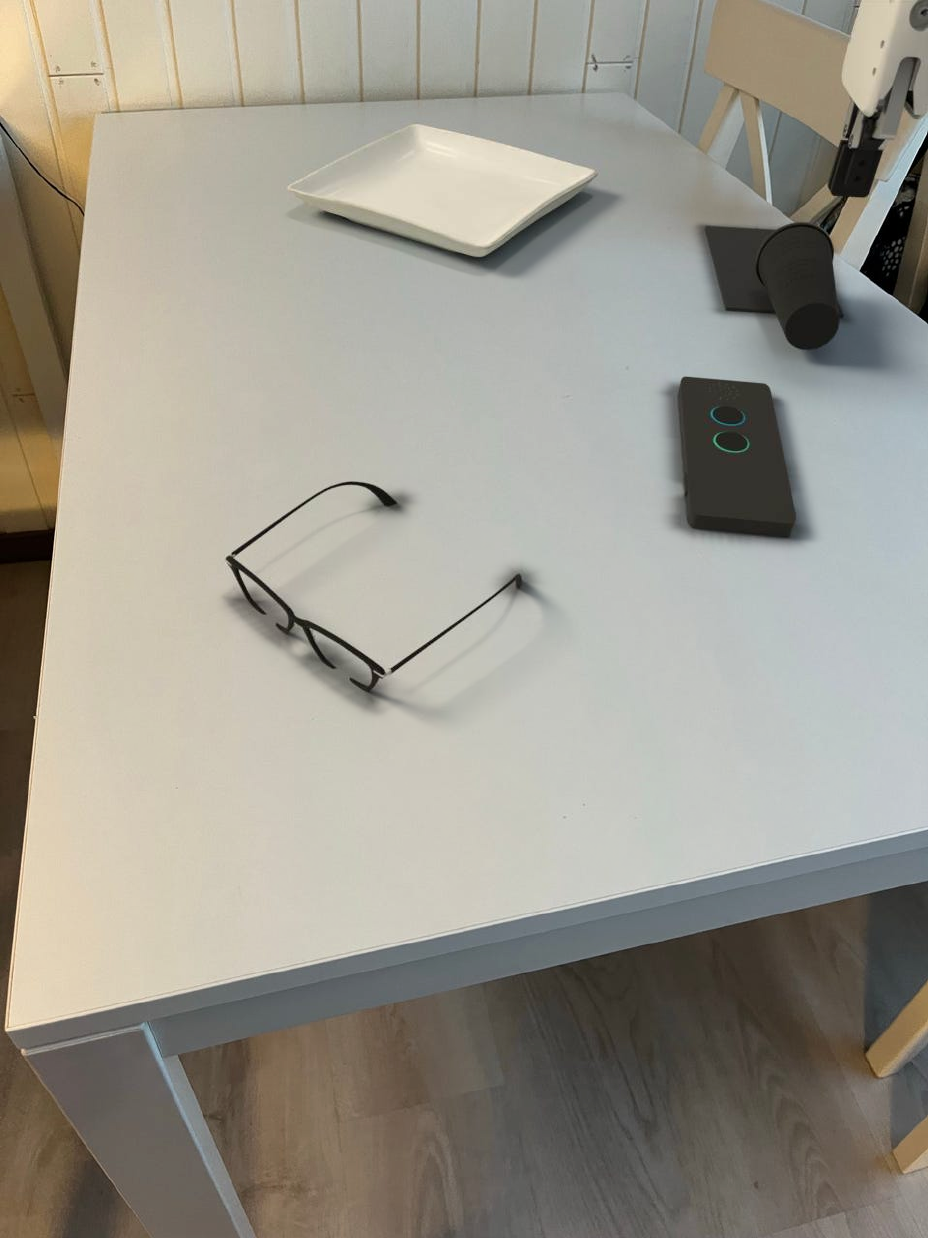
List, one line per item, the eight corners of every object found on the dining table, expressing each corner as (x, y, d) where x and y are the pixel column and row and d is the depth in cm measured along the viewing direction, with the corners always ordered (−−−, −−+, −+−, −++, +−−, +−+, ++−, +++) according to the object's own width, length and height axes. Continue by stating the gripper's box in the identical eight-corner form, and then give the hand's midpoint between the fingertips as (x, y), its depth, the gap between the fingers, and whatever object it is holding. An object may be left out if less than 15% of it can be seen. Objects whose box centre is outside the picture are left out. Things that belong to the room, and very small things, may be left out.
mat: (842, 319, 98) (843, 314, 98) (725, 312, 99) (726, 307, 98) (806, 236, 112) (808, 231, 112) (704, 230, 113) (705, 225, 112)
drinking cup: (799, 275, 85) (775, 183, 99) (753, 346, 91) (735, 249, 104) (873, 306, 86) (839, 210, 100) (823, 373, 92) (797, 274, 106)
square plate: (485, 280, 102) (487, 244, 99) (285, 217, 111) (281, 183, 109) (597, 197, 118) (601, 164, 116) (414, 148, 128) (414, 117, 125)
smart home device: (771, 381, 86) (800, 523, 72) (766, 398, 87) (794, 540, 73) (678, 373, 86) (689, 512, 73) (675, 390, 88) (685, 529, 74)
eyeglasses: (219, 594, 67) (210, 551, 64) (379, 493, 76) (377, 452, 73) (385, 720, 60) (383, 678, 57) (541, 593, 68) (547, 551, 65)
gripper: (1015, -41, 63) (914, 232, 77) (949, -84, 74) (870, 162, 87) (901, -46, 64) (820, 227, 77) (851, -89, 74) (787, 158, 87)
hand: (847, 192), depth 82 cm, fingers closed
